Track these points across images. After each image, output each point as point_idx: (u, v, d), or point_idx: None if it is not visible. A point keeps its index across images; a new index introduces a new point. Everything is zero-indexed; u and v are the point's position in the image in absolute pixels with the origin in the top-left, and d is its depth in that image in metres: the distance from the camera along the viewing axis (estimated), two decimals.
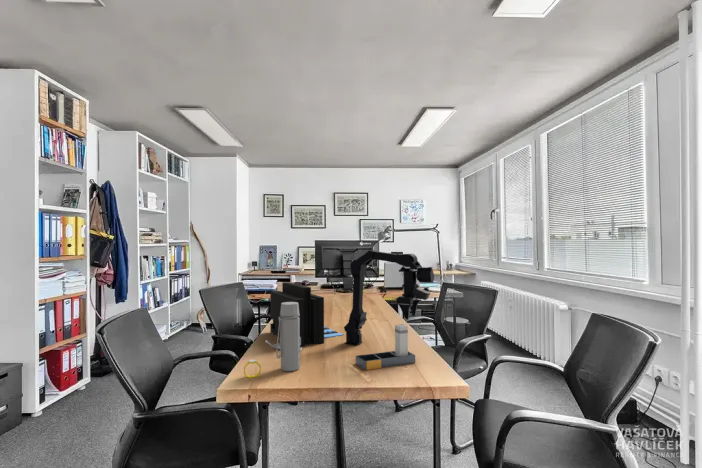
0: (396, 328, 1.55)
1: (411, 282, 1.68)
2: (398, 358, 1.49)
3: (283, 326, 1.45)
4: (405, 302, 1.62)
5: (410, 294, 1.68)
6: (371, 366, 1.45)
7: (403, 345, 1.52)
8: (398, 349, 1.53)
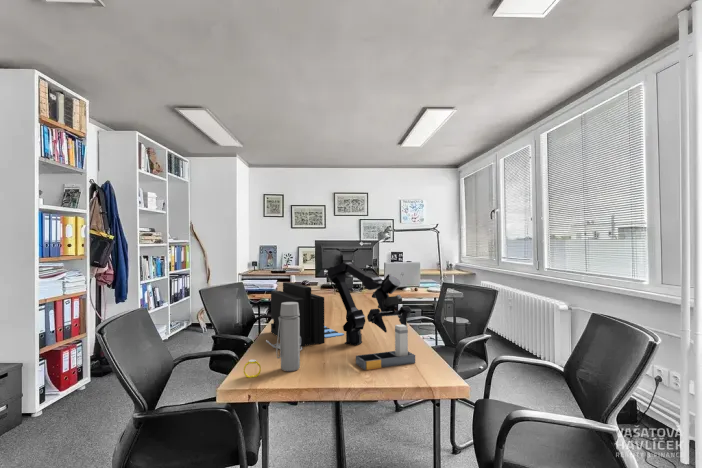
0: (396, 328, 1.55)
1: (379, 298, 1.67)
2: (398, 358, 1.49)
3: (283, 326, 1.45)
4: (370, 315, 1.60)
5: (382, 308, 1.64)
6: (371, 366, 1.45)
7: (403, 345, 1.52)
8: (398, 349, 1.53)
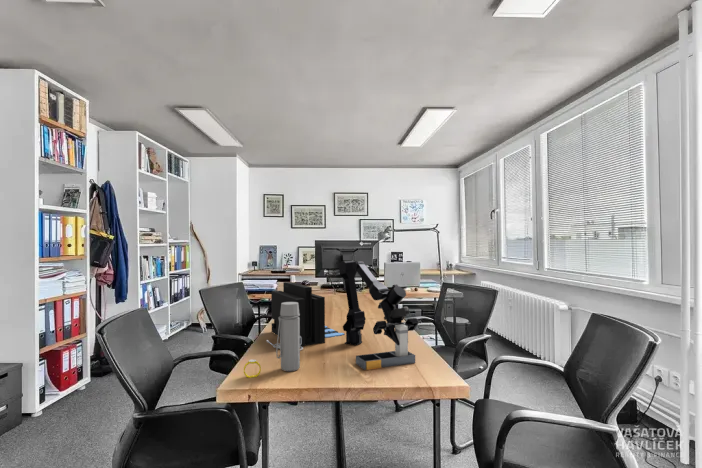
0: (396, 328, 1.54)
1: (386, 309, 1.62)
2: (398, 358, 1.49)
3: (283, 326, 1.45)
4: (376, 327, 1.54)
5: (389, 320, 1.58)
6: (371, 366, 1.45)
7: (403, 345, 1.52)
8: (398, 349, 1.53)
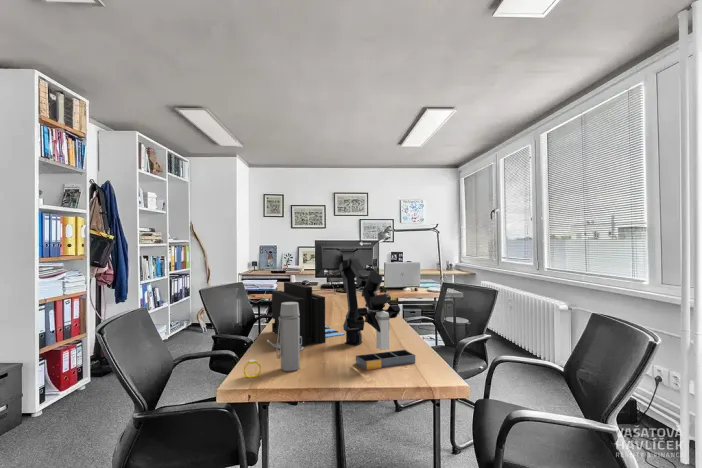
0: (377, 315, 1.51)
1: (367, 296, 1.59)
2: (398, 358, 1.49)
3: (283, 326, 1.45)
4: (356, 314, 1.51)
5: (370, 307, 1.55)
6: (371, 366, 1.45)
7: (384, 331, 1.49)
8: (379, 336, 1.50)
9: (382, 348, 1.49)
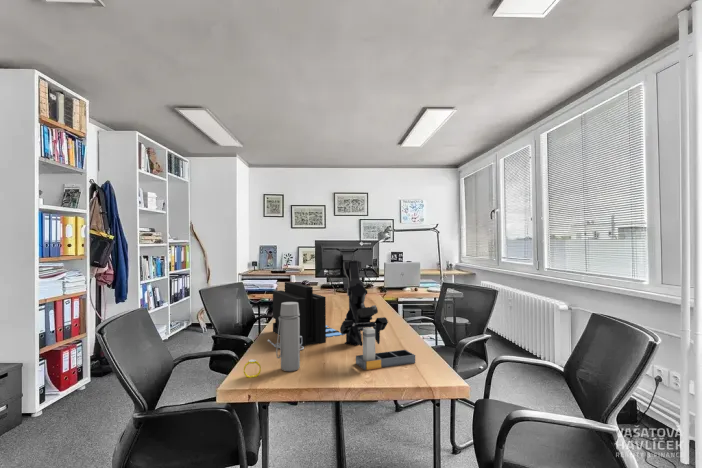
0: (363, 331, 1.49)
1: (354, 308, 1.57)
2: (398, 358, 1.49)
3: (283, 326, 1.45)
4: (342, 327, 1.49)
5: (357, 320, 1.53)
6: (371, 366, 1.45)
7: (370, 348, 1.47)
8: (365, 353, 1.48)
9: None
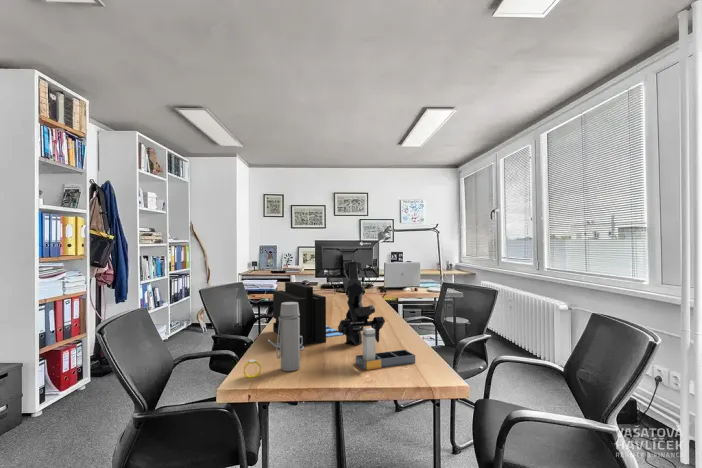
0: (363, 331, 1.49)
1: (352, 308, 1.59)
2: (398, 358, 1.49)
3: (283, 326, 1.45)
4: (340, 326, 1.52)
5: (354, 319, 1.56)
6: (371, 366, 1.45)
7: (370, 348, 1.47)
8: (365, 353, 1.48)
9: None
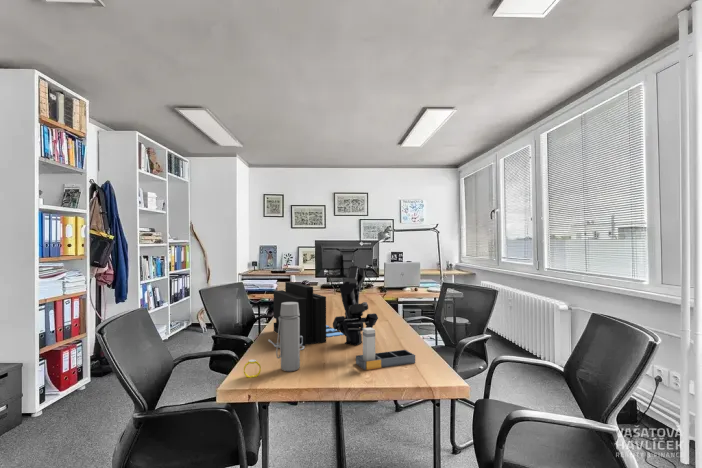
0: (363, 331, 1.49)
1: (346, 305, 1.65)
2: (398, 358, 1.49)
3: (283, 326, 1.45)
4: (335, 322, 1.58)
5: (348, 316, 1.62)
6: (371, 366, 1.45)
7: (370, 348, 1.47)
8: (365, 353, 1.48)
9: None
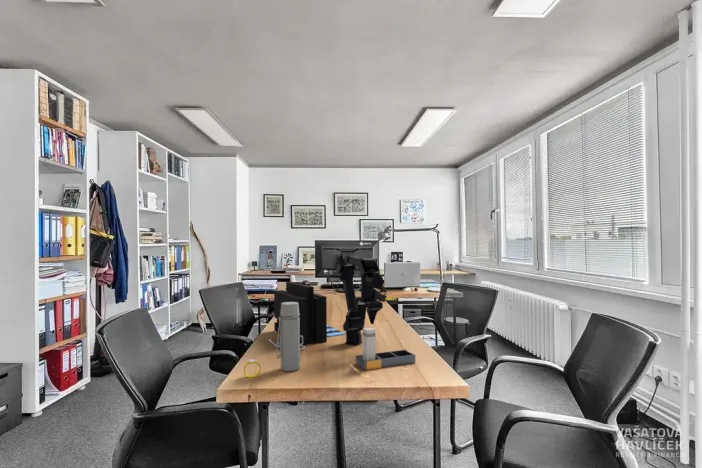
0: (363, 331, 1.49)
1: None
2: (398, 358, 1.49)
3: (283, 326, 1.45)
4: (378, 306, 1.61)
5: (372, 298, 1.67)
6: (371, 366, 1.45)
7: (370, 348, 1.47)
8: (365, 353, 1.48)
9: None
